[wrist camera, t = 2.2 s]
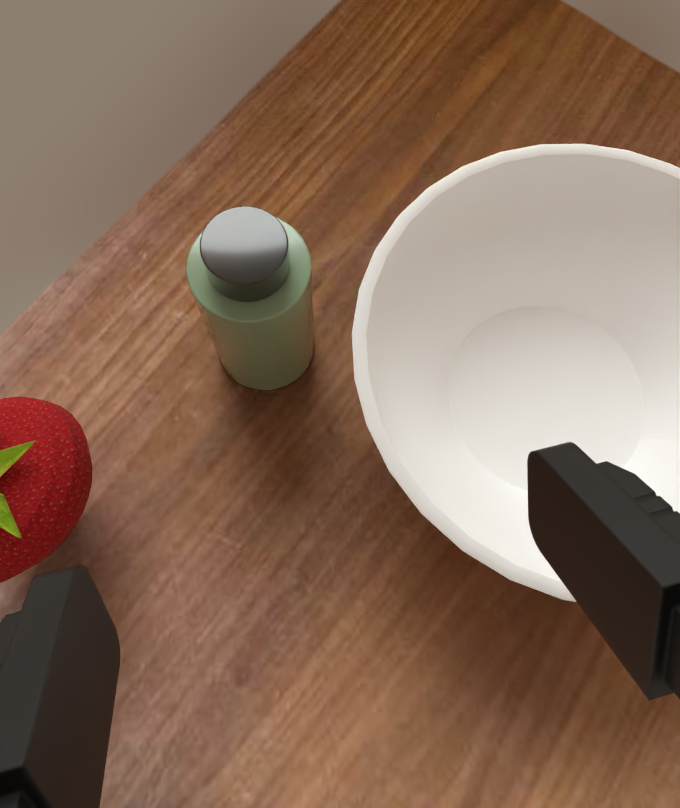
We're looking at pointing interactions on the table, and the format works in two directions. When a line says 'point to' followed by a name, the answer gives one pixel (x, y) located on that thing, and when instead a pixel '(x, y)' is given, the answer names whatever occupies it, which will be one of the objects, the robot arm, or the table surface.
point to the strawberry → (39, 480)
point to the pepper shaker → (254, 295)
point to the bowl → (524, 338)
